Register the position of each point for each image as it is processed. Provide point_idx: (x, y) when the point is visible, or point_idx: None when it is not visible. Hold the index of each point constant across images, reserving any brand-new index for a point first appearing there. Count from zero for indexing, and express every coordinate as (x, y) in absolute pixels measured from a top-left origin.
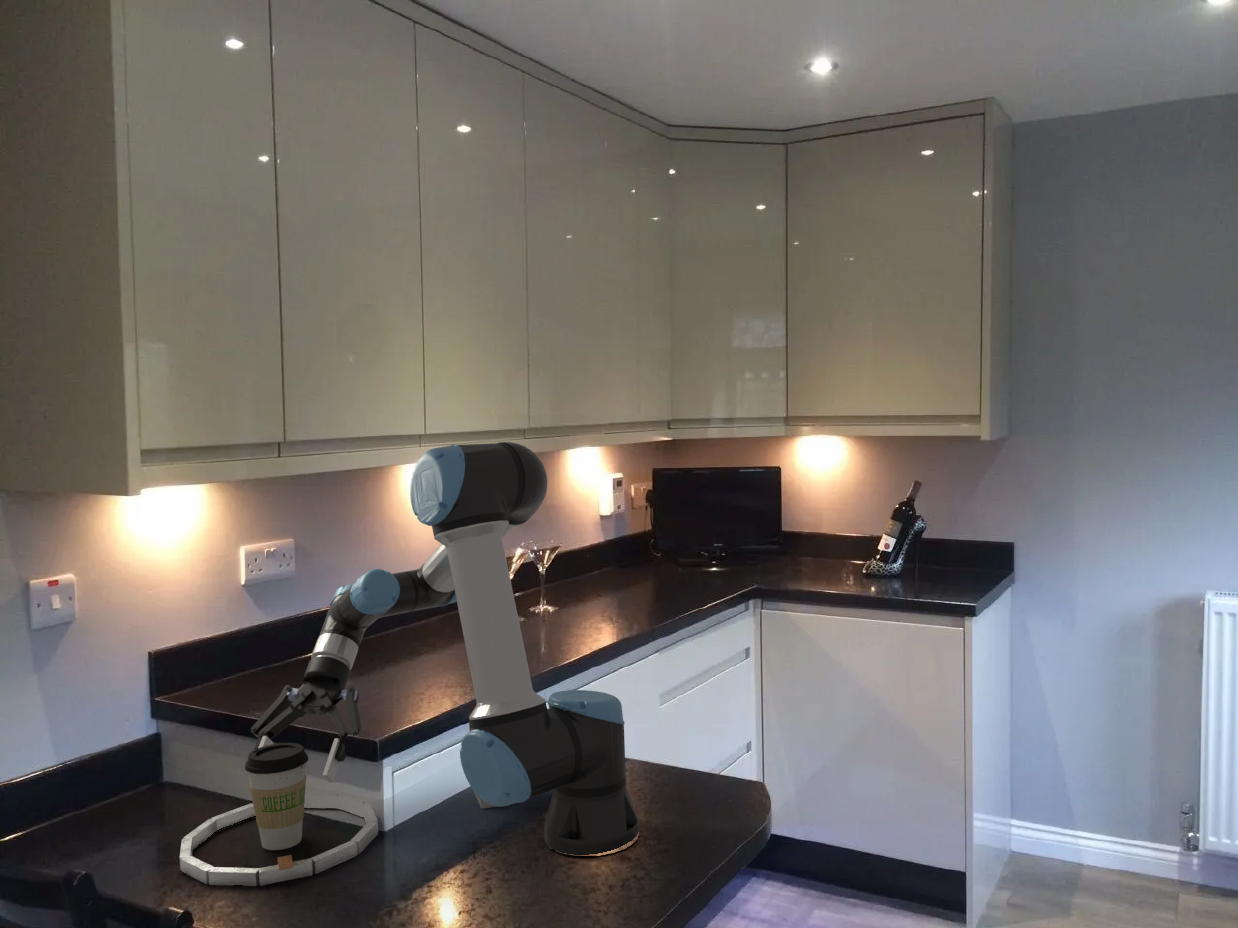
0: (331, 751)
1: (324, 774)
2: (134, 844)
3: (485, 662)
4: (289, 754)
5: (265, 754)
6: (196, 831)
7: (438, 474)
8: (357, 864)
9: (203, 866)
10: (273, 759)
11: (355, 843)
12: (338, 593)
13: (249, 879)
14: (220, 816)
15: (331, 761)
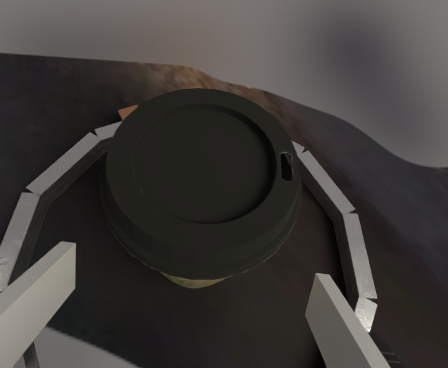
0: (17, 291)
1: (67, 243)
2: (443, 243)
3: None
4: (141, 125)
5: (245, 164)
6: (355, 240)
7: None
8: (32, 169)
9: None
10: (180, 93)
11: (28, 185)
12: None
13: None
14: (363, 313)
15: (31, 268)
